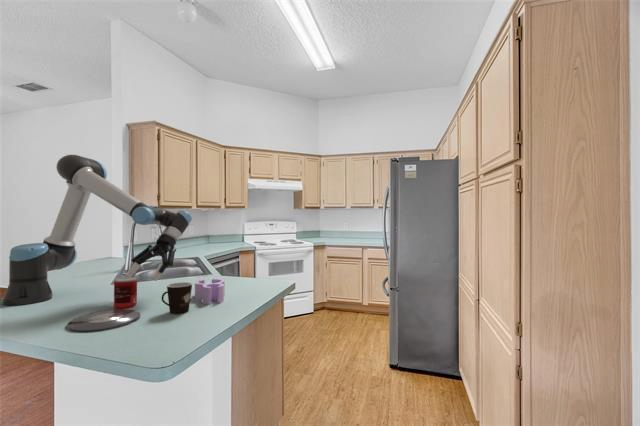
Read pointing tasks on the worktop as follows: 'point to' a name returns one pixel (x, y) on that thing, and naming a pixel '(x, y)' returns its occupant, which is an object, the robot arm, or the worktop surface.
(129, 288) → the canned food
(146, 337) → the worktop surface
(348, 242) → the worktop surface
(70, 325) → the plate
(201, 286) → the clip
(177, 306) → the coffee mug
